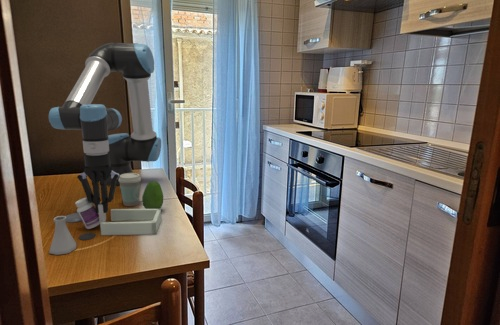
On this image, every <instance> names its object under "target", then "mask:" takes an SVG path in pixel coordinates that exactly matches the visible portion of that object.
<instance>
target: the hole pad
mask: <svg viewBox="0 0 500 325" xmlns="http://www.w3.org/2000/svg"><path fill="white" fill-rule="evenodd" d="M95 237H97V235H96V233H94V232H86V233H82V234H81V235H79V236H78V240H80V241H89V240H92V239H94V238H95Z"/></svg>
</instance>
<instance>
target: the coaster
mask: <svg viewBox="0 0 500 325" xmlns="http://www.w3.org/2000/svg"><path fill="white" fill-rule="evenodd" d="M65 216H66V220H65V221H66V223H68V224H69V223H80V222H82V220H81V218H80V216H79V215H78V213H77V212H74V213H69V214H67V215H65Z"/></svg>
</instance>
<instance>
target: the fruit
mask: <svg viewBox="0 0 500 325" xmlns="http://www.w3.org/2000/svg"><path fill="white" fill-rule="evenodd" d="M141 199H142V205H143V207H144V209H162V207H163V204H164V193H163V190H162V186H161V184H160V183H159V182H158V181H155V180H152V181H150V182H148V183H147V184H146V186H145V189H144V191H143V193H142V197H141Z"/></svg>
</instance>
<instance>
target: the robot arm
mask: <svg viewBox="0 0 500 325" xmlns="http://www.w3.org/2000/svg"><path fill="white" fill-rule="evenodd" d="M84 66H85V67H84V69H83V70H82V72H81V74H80V76H79V77H78V79H77V81H76V83H75V85H74V86H73V88H72V89H71V91H70V93H69V95H68V96H67V98H66V99H65V101H64V103H63V105H62V106H57V107H51V108H50V110H49V113H48V122H49V123H50V126H51V127H52V128H54V129H56V130H65V131H71V130H72V131H81V136H82V146H83V153H84V155H83V158H84V159H83V160H84V167H85V168H84V170H83V172H81V173H79V174H78V175H77V176H76V178H77V179H78V180H79V181H80V183H81V185H82V188H83V191H84V193H85V197H86V198H87V199H88V202H89V203H93V205H94V207H95V210H96V213H98V214H99V221H100V224H101V222H107V213H108V212H109V203H112V201H113V200H114V197H115V194H116V192H115V191H116V187H117V186H120V183H119V181H118V180H119V177H120V175H121V174H125V173H134V171H133V169H132V166H131V162H146V163H149V162H157V161H158V159H159V158H160V156H161V150H162V139H161V137H158V135H157V132H156V131H154V130H153V129H154V128H153V119H152V112H151V111H152V109H151V101H150V100H151V99H150V91H149V90H150V89H149V79H151V77H152V75H151V74H152V73H154V71H155V58H154V56H153V52H152V50H151V48H150V47H149V46H148V45H147V44H143V43H135V42H132V43H131V42H127V43H126V42H109V43H105V44H102V45H100V46H99V47H97V48H95V49H94V50H93V51H92V52H91V53H90V54H89V55H88V56H87V58H86V60H85V63H84ZM112 72H117V73H121V74H122V78H123V79H125V81H126V82H127V90H128V97H129V106H130V113H131V122H132V129H133V132H132V133H131V134H129V133H128V132H127V133H126V132H125V133H124V132H122V133H113V134H109V132H111V131H115V130H117V128H119V127H120V126H121V124H122V121H123V117H122V114H121V112H120V111H119V110H117V109H115V108H112V107H110V108H109V107H106V106H105V104H100V103H98V104H97V103H93V101H94V99H95V96H96V95H97V92H98V90H99V89H100V87H101V85H102V83H103V81H104V79H105V78H106V77H108V76H109V75H110V74H111V73H112ZM92 103H93V104H92ZM88 178H89V180H90V181H91V185H90V182H89V180H88ZM91 186H92V188H91ZM108 186H109V190H108Z"/></svg>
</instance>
